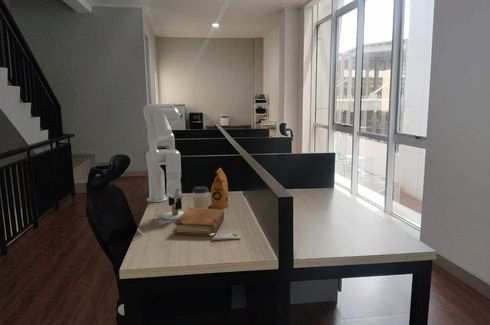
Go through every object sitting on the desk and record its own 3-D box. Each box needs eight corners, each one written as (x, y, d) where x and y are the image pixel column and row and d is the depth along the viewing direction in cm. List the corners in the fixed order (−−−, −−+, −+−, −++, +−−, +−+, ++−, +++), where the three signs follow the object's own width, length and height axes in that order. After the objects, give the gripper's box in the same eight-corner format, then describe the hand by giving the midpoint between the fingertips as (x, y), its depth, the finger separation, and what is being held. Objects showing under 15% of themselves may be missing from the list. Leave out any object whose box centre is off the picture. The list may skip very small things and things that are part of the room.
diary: (214, 237, 168) (214, 224, 167) (174, 234, 171) (174, 222, 170) (224, 219, 191) (224, 208, 190) (188, 217, 193) (188, 207, 192)
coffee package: (208, 209, 212) (207, 171, 209) (214, 203, 224) (213, 167, 221) (225, 209, 210) (224, 171, 207) (230, 203, 222) (229, 167, 219)
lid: (159, 215, 198) (158, 204, 197) (182, 211, 205) (181, 200, 204) (167, 222, 187) (167, 210, 186) (191, 217, 194) (191, 206, 193)
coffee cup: (211, 211, 208) (210, 185, 205) (207, 216, 199) (207, 188, 196) (195, 210, 208) (194, 184, 206) (191, 215, 200) (190, 188, 197)
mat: (155, 216, 198) (155, 215, 198) (183, 211, 207) (183, 210, 207) (165, 224, 185) (165, 223, 185) (195, 219, 193) (195, 217, 193)
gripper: (161, 173, 197) (162, 204, 200) (172, 178, 183) (174, 212, 185) (174, 172, 201) (175, 202, 204) (187, 176, 187) (188, 209, 189)
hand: (175, 207), depth 194 cm, fingers open, 9 cm apart
